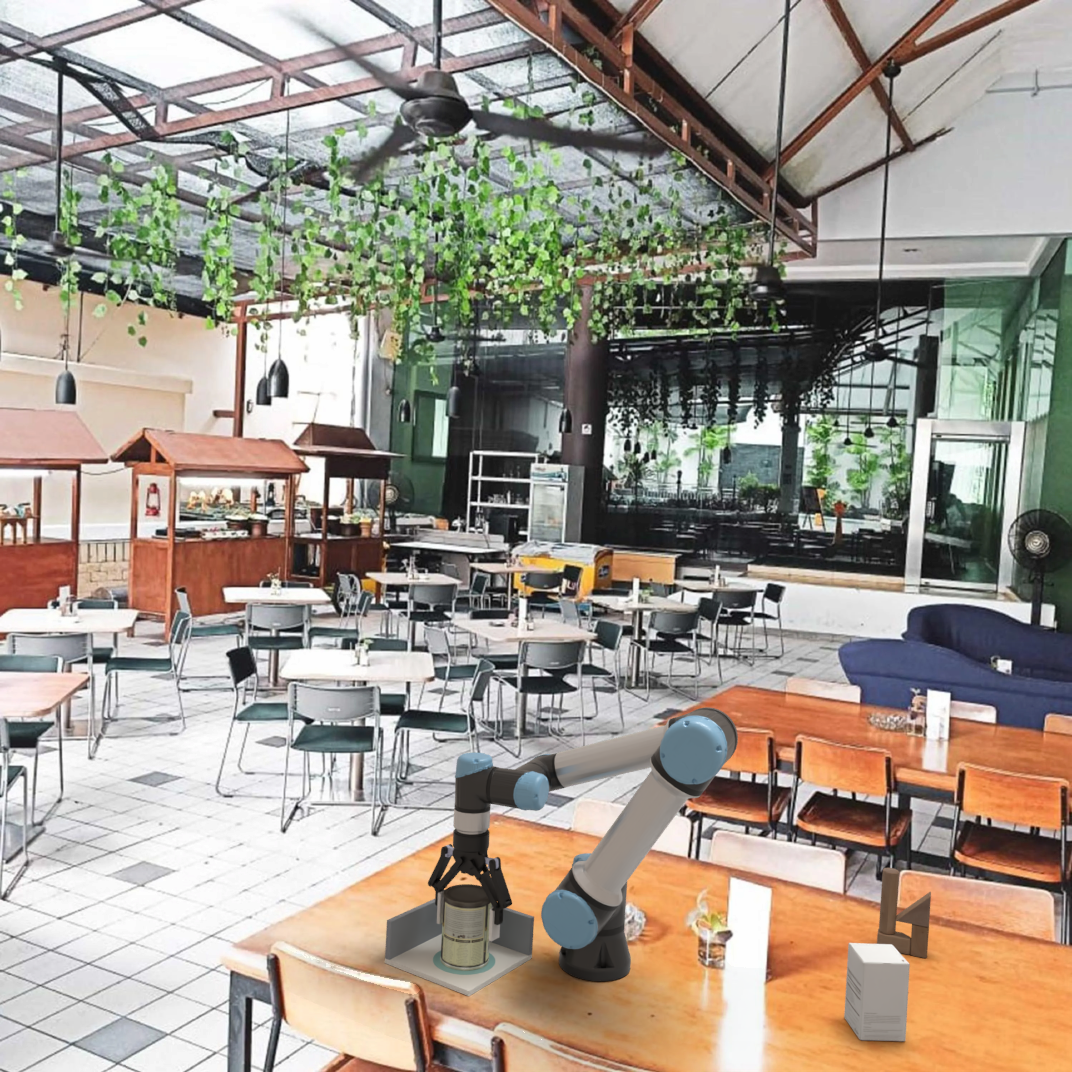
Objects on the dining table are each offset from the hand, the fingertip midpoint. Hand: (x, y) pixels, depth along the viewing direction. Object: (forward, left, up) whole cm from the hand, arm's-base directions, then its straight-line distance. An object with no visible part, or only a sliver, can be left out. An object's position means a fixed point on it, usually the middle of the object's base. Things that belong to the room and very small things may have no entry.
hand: (467, 930), depth 211 cm
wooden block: (-71, -71, -8) cm, 100 cm away
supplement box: (-76, -30, -8) cm, 82 cm away
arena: (+2, -1, -7) cm, 8 cm away
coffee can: (0, 0, -6) cm, 7 cm away
